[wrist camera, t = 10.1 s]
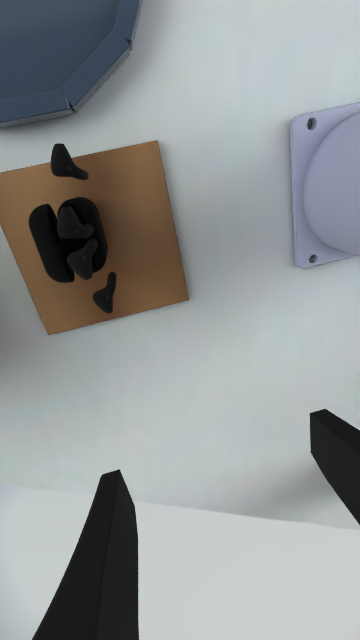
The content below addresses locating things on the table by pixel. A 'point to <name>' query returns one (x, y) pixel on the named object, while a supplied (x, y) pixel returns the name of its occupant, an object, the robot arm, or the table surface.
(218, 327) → the table surface
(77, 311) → the cork coaster
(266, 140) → the table surface
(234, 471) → the table surface
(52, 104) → the plate
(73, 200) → the wireless earbuds
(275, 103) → the table surface
